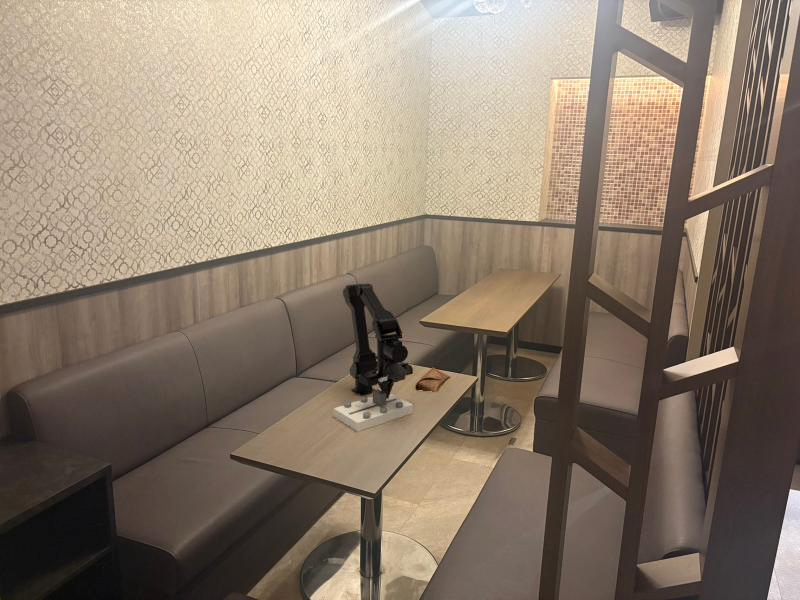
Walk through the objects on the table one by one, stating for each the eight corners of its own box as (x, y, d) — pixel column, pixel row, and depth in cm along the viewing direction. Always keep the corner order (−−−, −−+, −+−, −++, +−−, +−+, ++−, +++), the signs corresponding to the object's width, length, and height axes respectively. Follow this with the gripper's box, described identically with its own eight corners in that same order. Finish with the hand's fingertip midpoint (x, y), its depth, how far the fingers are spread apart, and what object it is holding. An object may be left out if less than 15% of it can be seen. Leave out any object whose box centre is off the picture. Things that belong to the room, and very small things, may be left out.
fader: (372, 402, 196) (372, 391, 195) (378, 400, 197) (378, 389, 196) (380, 406, 192) (380, 395, 191) (386, 404, 194) (386, 393, 193)
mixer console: (334, 416, 193) (333, 404, 192) (387, 399, 206) (387, 388, 205) (357, 431, 182) (357, 419, 181) (412, 412, 195) (412, 401, 194)
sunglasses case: (437, 393, 211) (428, 376, 211) (421, 400, 214) (412, 384, 214) (451, 376, 227) (443, 361, 227) (436, 382, 230) (428, 368, 230)
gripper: (377, 366, 181) (378, 413, 184) (423, 353, 192) (423, 398, 196) (357, 357, 189) (358, 402, 193) (402, 345, 200) (402, 388, 204)
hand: (386, 398), depth 196 cm, fingers closed
